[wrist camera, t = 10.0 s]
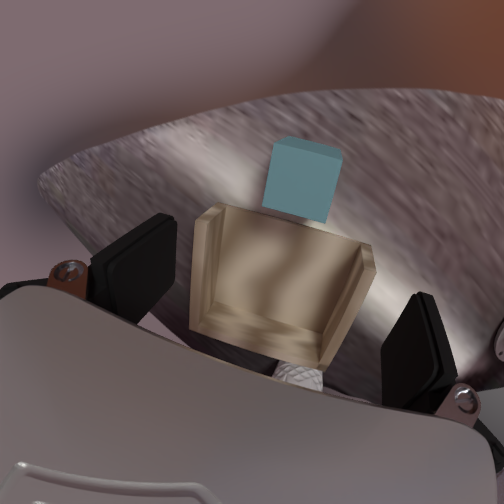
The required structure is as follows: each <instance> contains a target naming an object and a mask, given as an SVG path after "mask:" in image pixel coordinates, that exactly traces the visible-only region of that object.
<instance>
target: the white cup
mask: <svg viewBox="0 0 504 504" xmlns="http://www.w3.org/2000/svg"><path fill="white" fill-rule="evenodd" d="M322 377H323V371H319V370H315V369H312V368H308V367H304V366H300V365H297V364H293V363H290V362H286V361H283V360H279V362H278V363H277V366H276V369H275V372H274V373H273V375H272V378H275V379H278V380H281V381H285V382H288V383H292V384H295V385H298V386H302V387H306V388H309V389H313V390H317V391H320V392H322V387H323V381H322Z"/></svg>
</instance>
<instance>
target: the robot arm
mask: <svg viewBox="0 0 504 504" xmlns="http://www.w3.org/2000/svg"><path fill="white" fill-rule="evenodd" d="M176 240H177V222H176V221H174V217H173V216H170V215H167V214H163V213H158V214H156V215H154V216H153V217H151V218H150V219H148V220H147V221H145V222H143V223H142V224H140V225H139V226H137V227H136V228H134V229H133V230H131V231H130V232H128V233H127V234H125V235H123V236H122V237H121V238H119V239H118V240H116V241H115V242H113V243H112V244H110V245H109V246H107V247H106V248H104V249H103V250H101V251H100V252H99V253H97V254H96V255H94V256H93V257H92V258H90V260H91V265H90V266H88V267H87V265H86V264H85V263H84V262H82V261H79V260H66V261H63V262H60V263H58V264H57V265H55V266H54V267H53V268H52V269H51V272H50V274H49V278H45V279H37V280H28V281H21V282H13V283H8V284H6V285H4V286H3V287H2V288H1V289H0V504H504V470H503V467H504V447H503V445H502V444H501V443H500V442H499V441H498V440H497V438H496V437H495V436H494V435H493V434H492V433H491V432H490V431H489V430H488V428H487V427H486V426H485V425H484V424H483V423H482V422H481V421H480V420H479V419H478V416H479V413H480V410H481V402H480V399H479V397H478V395H477V393H476V392H475V390H474V389H473V388H471V387H470V386H469V385H466V384H464V383H458V384H456V383H455V379H456V377H457V376H458V373H457V369H456V365H455V362H454V358H453V355H452V351H451V348H450V344H449V341H448V338H447V335H446V332H445V328H444V325H443V323H442V320H441V317H440V314H439V311H438V308H437V306H436V303H435V300H434V297H433V296H432V295H430V294H427V293H423V292H418V293H417V294H413V295H412V296H411V298H410V300H409V301H408V303H407V305H406V307H405V308H404V310H403V312H402V314H401V315H400V317H399V319H398V320H397V322H396V324H395V325H394V327H393V328H392V330H391V332H390V333H389V335H388V336H387V338H386V340H385V341H384V343H383V345H382V347H381V371H382V405H377V404H372V403H367V402H363V401H358V400H353V399H349V398H345V397H340V396H336V395H332V394H328V393H324V392H320V391H317V390H313V389H309V388H306V387H302V386H298V385H295V384H292V383H288V382H285V381H281V380H278V379H275V378H272V377H269V376H265V375H262V374H259V373H256V372H253V371H250V370H247V369H244V368H242V367H239V366H236V365H233V364H230V363H227V362H225V361H222V360H219V359H217V358H214V357H211V356H209V355H206V354H204V353H201V352H199V351H196V350H194V349H191V348H189V347H186V346H184V345H181V344H179V343H176V342H174V341H172V340H169V339H167V338H165V337H163V336H160V335H158V334H156V333H153V332H151V331H149V330H147V329H145V328H142V327H141V326H138V325H137V324H138V323H139V322H140V320H141V319H142V318H143V317H144V316H145V315H146V314H147V313H148V312H149V310H150V309H151V308H152V307H153V306H154V305H155V304H156V303H157V302H158V300H159V299H160V298H161V297H162V296H163V295H164V294H165V293H166V292H167V291H168V290H169V288H170V287H171V286H172V285H173V283H174V280H175V264H176ZM494 350H495V353H496V356H497V357H498V358H499V360H501V361H504V321H503V323H502V325H501V326H500V328H499V330H498V332H497V335H496V337H495V341H494Z"/></svg>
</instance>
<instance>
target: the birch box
mask: <svg viewBox="0 0 504 504" xmlns="http://www.w3.org/2000/svg"><path fill="white" fill-rule="evenodd" d="M376 273H377V272H376V267H375V262H374V257H373V253H372V248H371V245H368V244H365V243H362V242H359V241H355V240H352V239H349V238H345V237H342V236H339V235H335V234H332V233H329V232H325V231H322V230H318V229H315V228H312V227H308V226H305V225H301V224H298V223H294V222H290V221H287V220H283V219H280V218H276V217H272V216H269V215H265V214H261V213H257V212H254V211H250V210H246V209H242V208H238V207H234V206H231V205H227V204H223V203H219V202H217V203H216V204H215V205H214V206H212V207H211V208H210V209H209V210H208V211H206V212H205V213H204V214H203V215H201V216H200V217H199V218H198V219H197V220H195V230H194V243H193V257H192V273H191V291H190V315H189V329H190V330H193V331H195V332H198V333H201V334H203V335H206V336H209V337H212V338H214V339H217V340H220V341H223V342H226V343H229V344H232V345H235V346H238V347H241V348H244V349H247V350H250V351H253V352H256V353H259V354H263V355H266V356H269V357H272V358H276V359H279V360H283V361H286V362H290V363H293V364H297V365H300V366H304V367H308V368H312V369H315V370H319V371H323V372H325V371H326V369H327V368H328V366H329V364H330V363H331V361H332V359H333V357H334V356H335V354H336V352H337V350H338V349H339V347H340V345H341V343H342V341H343V340H344V338H345V336H346V334H347V332H348V330H349V328H350V326H351V325H352V323H353V321H354V319H355V317H356V315H357V313H358V311H359V309H360V307H361V305H362V303H363V301H364V299H365V297H366V295H367V292H368V290H369V288H370V286H371V284H372V282H373V280H374V277H375V275H376Z"/></svg>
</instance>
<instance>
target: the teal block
mask: <svg viewBox="0 0 504 504" xmlns="http://www.w3.org/2000/svg"><path fill="white" fill-rule="evenodd" d="M342 161H343V160H342V155H341V150H340V149H337V148H334V147H330V146H327V145H323V144H319V143H315V142H311V141H307V140H303V139H299V138H295V137H291V136H288V137H286V138H283V139H281V140H279V141H277V142H275V143H274V146H273V151H272V156H271V161H270V167H269V172H268V177H267V182H266V187H265V192H264V197H263V203H262V206H263V207H267V208H270V209H274V210H278V211H282V212H285V213H289V214H293V215H296V216H300V217H303V218H307V219H311V220H314V221H318V222H321V223H324V224H325V223H326V219H327V216H328V212H329V209H330V205H331V202H332V198H333V195H334V191H335V188H336V184H337V180H338V176H339V173H340V169H341V165H342Z"/></svg>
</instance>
